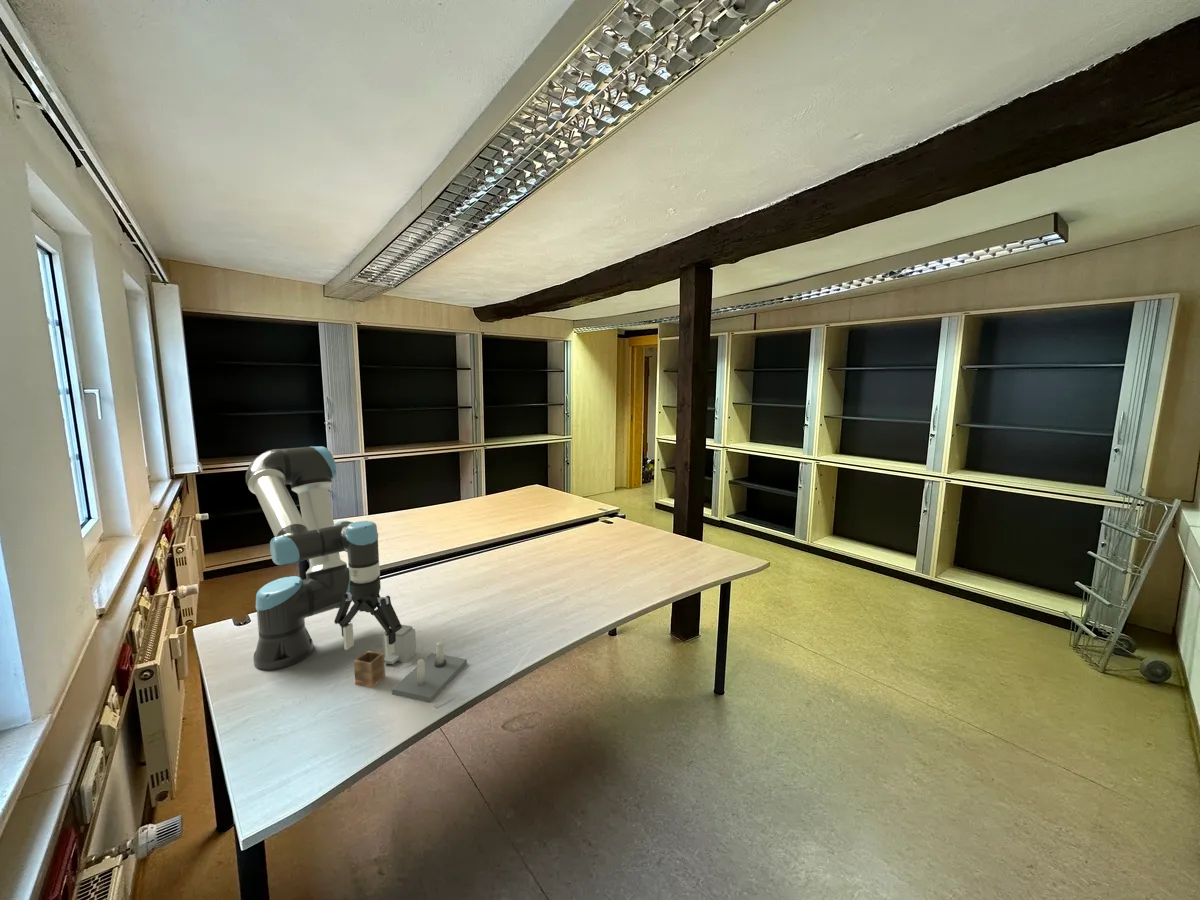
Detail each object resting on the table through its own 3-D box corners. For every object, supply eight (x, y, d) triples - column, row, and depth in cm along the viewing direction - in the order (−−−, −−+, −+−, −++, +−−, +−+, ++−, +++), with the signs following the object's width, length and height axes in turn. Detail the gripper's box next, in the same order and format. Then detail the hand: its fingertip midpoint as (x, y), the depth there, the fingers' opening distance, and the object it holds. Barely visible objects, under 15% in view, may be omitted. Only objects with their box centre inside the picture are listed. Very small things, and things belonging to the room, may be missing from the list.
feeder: (376, 663, 139) (374, 636, 138) (394, 649, 146) (393, 623, 145) (398, 668, 137) (397, 640, 136) (416, 653, 144) (415, 626, 143)
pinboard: (392, 694, 125) (390, 665, 124) (431, 657, 142) (431, 631, 141) (430, 702, 122) (429, 672, 121) (466, 663, 139) (466, 637, 138)
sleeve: (355, 684, 129) (353, 661, 128) (369, 672, 134) (368, 650, 133) (371, 687, 128) (370, 664, 127) (385, 676, 133) (383, 653, 132)
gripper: (316, 578, 126) (321, 651, 129) (394, 588, 120) (398, 664, 123) (338, 568, 134) (343, 637, 136) (412, 577, 127) (416, 649, 130)
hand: (369, 650), depth 129 cm, fingers open, 13 cm apart
